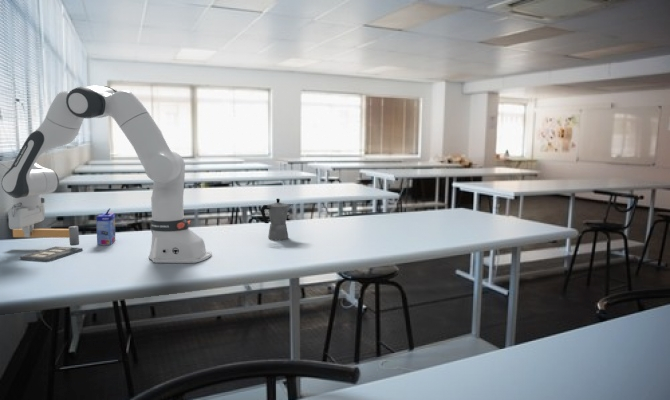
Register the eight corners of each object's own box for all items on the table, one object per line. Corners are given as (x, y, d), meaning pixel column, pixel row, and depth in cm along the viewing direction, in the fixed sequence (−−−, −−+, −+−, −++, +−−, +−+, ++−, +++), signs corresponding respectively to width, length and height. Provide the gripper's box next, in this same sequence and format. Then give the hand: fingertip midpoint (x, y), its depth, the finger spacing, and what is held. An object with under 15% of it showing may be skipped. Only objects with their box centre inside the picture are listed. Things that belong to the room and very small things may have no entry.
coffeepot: (284, 234, 208) (284, 196, 205) (296, 238, 200) (296, 198, 198) (255, 238, 198) (255, 198, 195) (266, 242, 191) (266, 201, 188)
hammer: (76, 245, 175) (75, 227, 174) (13, 245, 175) (11, 227, 174) (80, 243, 178) (79, 226, 177) (18, 243, 178) (17, 225, 177)
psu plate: (82, 250, 173) (82, 247, 173) (49, 261, 157) (48, 257, 157) (55, 248, 175) (55, 245, 175) (20, 259, 159) (19, 255, 159)
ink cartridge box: (111, 245, 183) (109, 210, 181) (96, 245, 181) (94, 210, 179) (116, 240, 192) (114, 206, 190) (102, 240, 191) (100, 207, 189)
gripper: (21, 204, 162) (24, 242, 163) (47, 197, 182) (49, 231, 183) (1, 205, 160) (4, 242, 162) (30, 198, 180) (32, 231, 182)
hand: (28, 236), depth 173 cm, fingers closed
